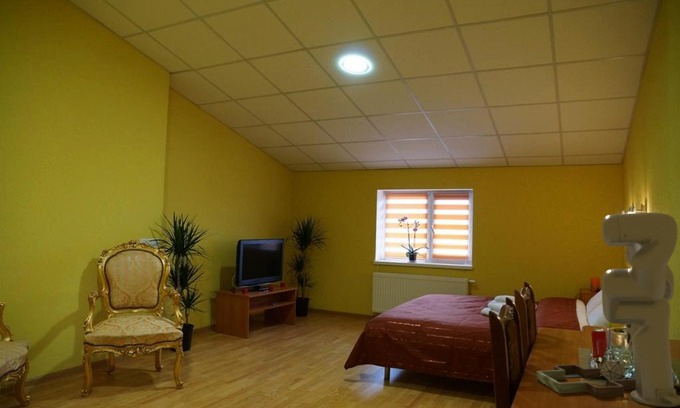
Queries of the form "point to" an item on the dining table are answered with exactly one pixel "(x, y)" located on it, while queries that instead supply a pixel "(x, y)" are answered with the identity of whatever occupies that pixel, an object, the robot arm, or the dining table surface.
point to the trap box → (577, 371)
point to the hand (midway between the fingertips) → (645, 366)
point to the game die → (612, 370)
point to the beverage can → (599, 342)
